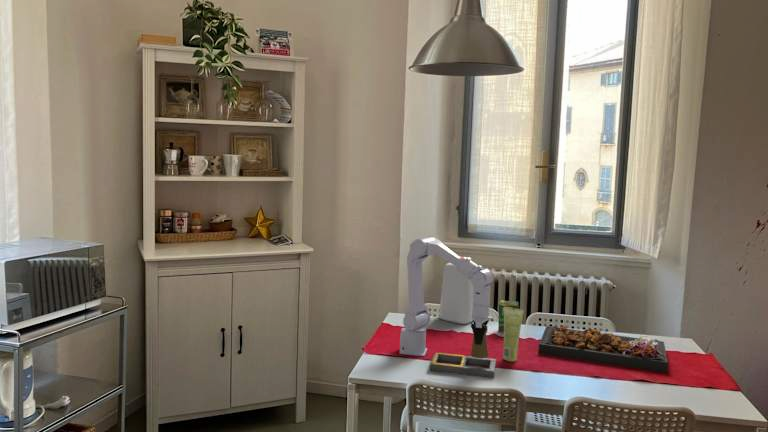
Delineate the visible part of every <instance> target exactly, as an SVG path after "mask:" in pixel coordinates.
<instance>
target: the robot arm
mask: <svg viewBox="0 0 768 432" xmlns="http://www.w3.org/2000/svg"><path fill="white" fill-rule="evenodd" d="M429 256H439V257H441V258H442V259H444V260H446V261H447V262H448V263H452V264H454V265H455V266H456V270H457V271H458V272H460V273H461V274H463V275H464V276H465V277H467V278H468V279H470V280H471V283H472V284H473V308H472V316H471V318H472V319H473V321H472V323H471V322H470V323H471V324H470V328H471V330H473V331H472V333H473V337H474V340H475V344H477V345H481V344H482V341H483V336H484V333H485V331H486V329H487V330H488V327H489V326H488V323H489V321H491V320H492V319H493V316H490V299H491V284H492V283H493V282H494V279H495V277H494V272H492V270H491V269H490V268H488V267H483V266H482V265H478V264H477V263H475V262H474V261H472V258H471V257H470V256H469V257H468V256H465V257H463V258H461V257H459V256H460V255H458V254H456V253H455V252H454V251H452V249H450V248H449V247H447V246H446V245H445V244H443V242H442V241H441V240H440V239H437V238H436V237H434V236H431V235H430V236H427V237H423V238H416V239H415V240H413V241H412V242H411V243H410V244H409V251H408V254H407V256H406V265H407V266H406V267H407V286H408V287H407V288H408V289H407V290H408V305H407V307H406V309H405V310H404V316H403V320H402V323H403V326H404V327H401V330H400V337H399V354H400V355H406V356H407V355H408V356H417V357H425V356H426V354H427V352H428V348H427V347H426V341H427V340H426V339H427V338H426V337H427V327H428V325H429V323H430V322H431V316H430V313H429V311H428V306H427V305H426V304H425V300H424V281H423V280H424V279H423V277H424V276H423V261H424V260H426V259H427V258H428V257H429ZM466 257H468V258H466ZM482 324H484V325H486V326H483V325H482Z"/></svg>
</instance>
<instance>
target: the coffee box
mask: <svg viewBox="0 0 768 432" xmlns="http://www.w3.org/2000/svg"><path fill="white" fill-rule="evenodd" d="M503 307H507V308H514V309H519V301H512V300H511V301H510V300H509V301H508V300H502V299H501V300H499V302H498V324H497V325H498V328H497V331H498V332H501V333H504V311H503Z"/></svg>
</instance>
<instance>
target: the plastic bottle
mask: <svg viewBox="0 0 768 432" xmlns="http://www.w3.org/2000/svg"><path fill="white" fill-rule="evenodd" d="M458 256H459V257H461V258H463V257H466V258H468V256H461V255H458ZM443 268H444V269H443V279H442V285H441V286H442V288H441V293H440V294H441V295H440V304H439V314H438V316H439V319H441V320H442V321H446V322H451V323H455V324H458V325H459V324H461V325H467V324H470V323H471V322H472V323H473V319H472V318H471V316H472V308H473V284H472V283H471V280H470V279H468V278H467V277H465V276H464V275H463V274H461V273H460V272H458V271H457V270H456V266H455V265H454V264H452V263H450V262H448V263H446V264H445V265H444V267H443Z"/></svg>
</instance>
